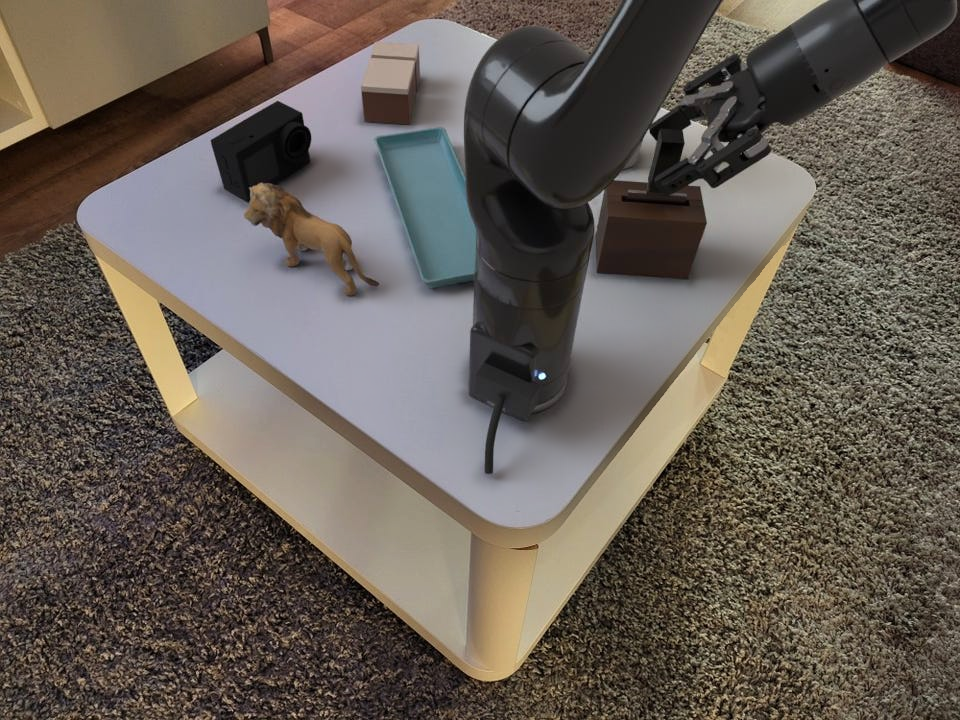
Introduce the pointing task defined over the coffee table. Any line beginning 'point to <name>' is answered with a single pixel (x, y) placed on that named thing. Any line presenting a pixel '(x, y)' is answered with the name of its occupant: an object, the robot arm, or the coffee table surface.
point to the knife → (662, 169)
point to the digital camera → (262, 149)
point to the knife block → (648, 233)
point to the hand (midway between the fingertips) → (656, 161)
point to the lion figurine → (303, 231)
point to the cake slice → (398, 54)
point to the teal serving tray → (431, 203)
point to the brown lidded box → (389, 91)
